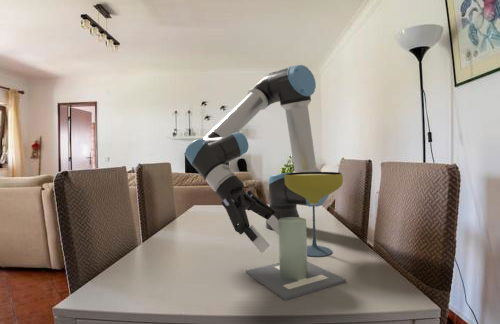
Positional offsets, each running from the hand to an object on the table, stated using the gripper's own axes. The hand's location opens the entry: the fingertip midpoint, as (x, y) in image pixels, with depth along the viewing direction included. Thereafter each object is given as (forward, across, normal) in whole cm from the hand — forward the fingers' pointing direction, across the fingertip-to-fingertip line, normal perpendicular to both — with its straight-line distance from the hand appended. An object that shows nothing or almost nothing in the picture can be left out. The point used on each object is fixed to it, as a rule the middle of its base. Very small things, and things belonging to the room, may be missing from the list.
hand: (276, 241), depth 80 cm
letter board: (+9, 0, +3) cm, 10 cm away
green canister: (+9, 0, +2) cm, 9 cm away
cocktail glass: (+9, +22, +3) cm, 24 cm away
